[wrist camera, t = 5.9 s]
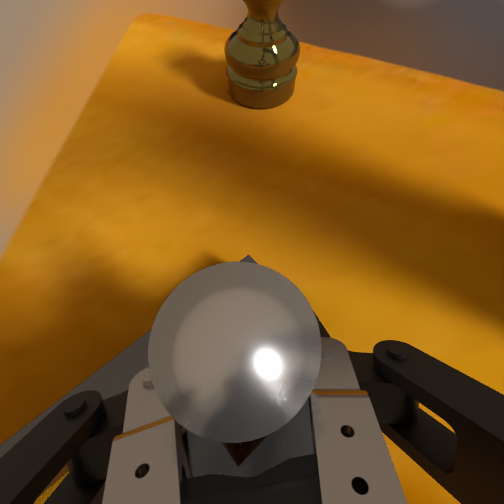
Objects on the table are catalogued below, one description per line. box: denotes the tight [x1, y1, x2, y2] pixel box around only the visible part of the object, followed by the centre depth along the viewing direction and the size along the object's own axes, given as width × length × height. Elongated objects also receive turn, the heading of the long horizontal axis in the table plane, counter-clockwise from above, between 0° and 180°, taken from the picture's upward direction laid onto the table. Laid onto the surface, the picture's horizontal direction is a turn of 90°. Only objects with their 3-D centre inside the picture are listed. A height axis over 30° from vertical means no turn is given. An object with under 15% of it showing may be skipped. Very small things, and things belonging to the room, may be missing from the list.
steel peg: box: [148, 262, 321, 443], centre depth 11 cm, size 4×4×12 cm
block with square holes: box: [0, 255, 313, 497], centre depth 13 cm, size 19×10×3 cm, turn 131°
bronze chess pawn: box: [224, 0, 300, 108], centre depth 26 cm, size 7×7×10 cm
